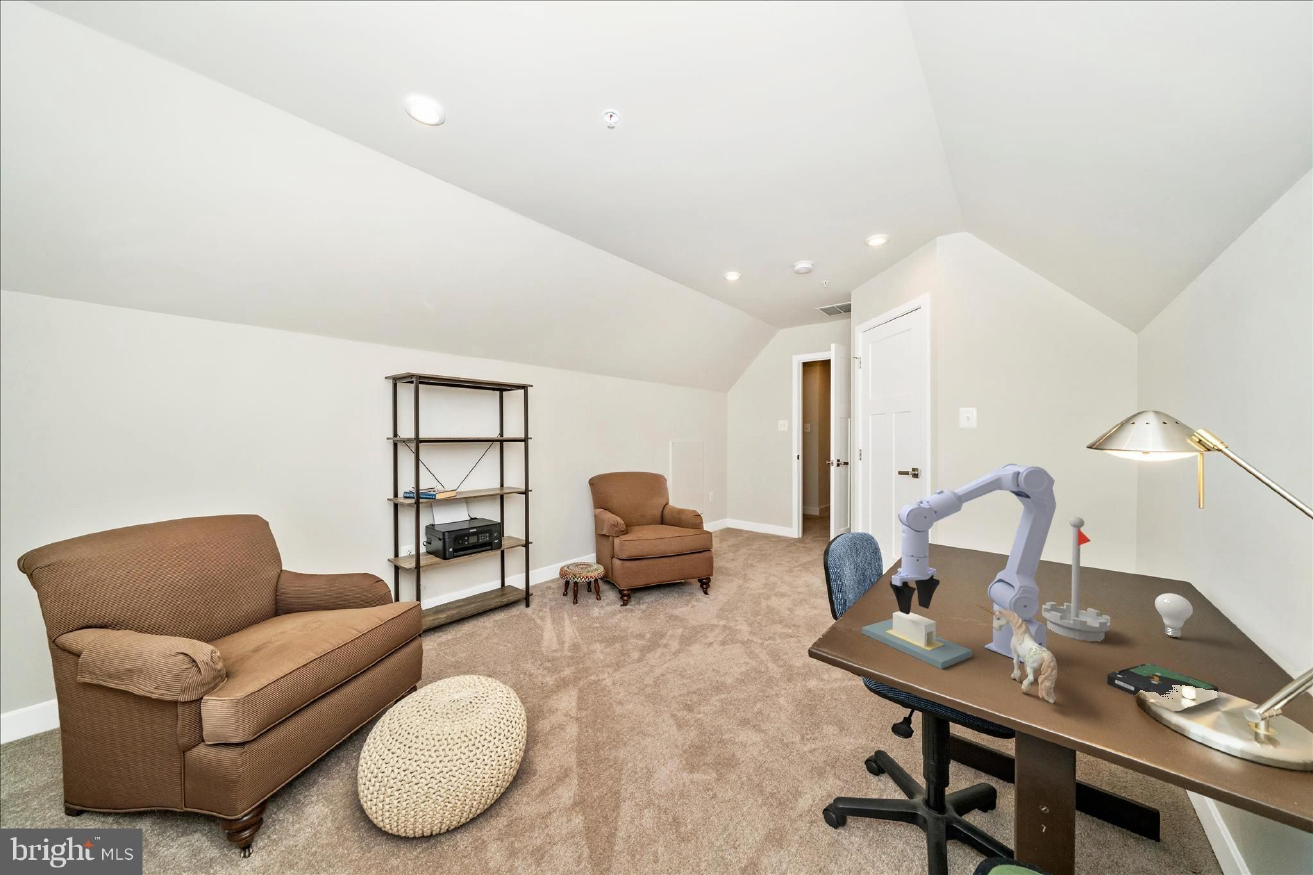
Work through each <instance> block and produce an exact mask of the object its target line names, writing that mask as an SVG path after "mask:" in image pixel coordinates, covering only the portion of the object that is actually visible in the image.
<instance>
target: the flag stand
mask: <svg viewBox="0 0 1313 875" xmlns="http://www.w3.org/2000/svg"><path fill="white" fill-rule="evenodd" d="M1068 523H1069V525H1070V526H1071V527H1072V542H1071V544H1072V549H1071V550H1072V551H1071V555H1072V556H1071V603H1067V602H1063V606H1058V604H1057V603H1056V602H1054V601H1049V602H1045V604H1042V608H1041V609H1042V610H1041V614H1042V615H1041V616H1042V617H1044V619H1046V628H1047V629H1049V630H1050V629H1051V630H1052V632H1053V631H1054V633H1056V634H1057V633H1058V635H1061V636H1063V637H1066V636H1067V637H1066V638H1070V639H1073V638H1075V639H1074V640H1078V641H1083V640H1090V641H1089V642H1093V641H1098V640H1103V639H1104V640H1105V632H1107V631H1110V630H1111V617H1110V616H1109V615H1106V614H1102V615H1101V611H1100V610H1096V609H1094V608H1092V607H1088V608H1087V609H1086V610H1082V609H1080V593H1081V592H1080V590H1081V588H1080V585H1081V582H1080V581H1081V578H1080V577H1081V546H1082V545H1084V544H1088V543H1090V542H1092V540H1091V539H1090V538H1089V537H1087V535H1086V534H1085V533H1084V532H1083V531H1082V529H1081V528H1083V527H1084V526H1085V520H1084V519H1083V518H1082V517H1079V516H1072V517H1070V519H1069V521H1068ZM1051 630H1050V631H1051ZM1104 640H1103V641H1104ZM1098 642H1099V641H1098Z"/></svg>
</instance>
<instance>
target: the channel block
mask: <svg viewBox="0 0 1313 875" xmlns="http://www.w3.org/2000/svg"><path fill="white" fill-rule="evenodd" d="M892 619H893V633H894V634H896V635H899V636H901V637H903V638H906V639H908V640H910V641H913V642H915V643H917V644H920V645H922V646H927V641H929V642H931V643H935V642H936V636H937V635H936V634H937V630H936V629H937V621H936V620H934V619H933V620H932V619H930V618H928V617H924V616H921V615H920V614H916V613H913V612H912V611H910V614H908V615H907V614H904V613H902V612H900V610H899V611H895V612H893V613H892Z"/></svg>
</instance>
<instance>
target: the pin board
mask: <svg viewBox="0 0 1313 875" xmlns="http://www.w3.org/2000/svg"><path fill="white" fill-rule="evenodd" d="M861 634H863V635H866V636H867V637H869V636H870V637H869V638H871V639H873V640H876V641H878V642H880V643H883V644H885V645H888V646H889V647H891V648H893V649H896V650H898V651H901V652H903V653H905V654H906V655H909V656H911V657H913V658H915V659H918V660H920V661H922V662H924V663H926V664H929V665H932V666H933V667H935V668H938V669H939V670H943V669H946V668H948V667H950V666H952V665H955V664H957V663H960V662H963V661H965V660H968V659H970V658H972V657H973V650H972V649H971V648H968V647H965V646H963V645H960V644H957V643H955V642H953V641H950V640H947V639H946V638H942V637H939V636H937V635H936V642H935V643H931V642H929V641H927V646H922V645H920V644H917V643H915V642H913V641H910V640H908V639H906V638H903V637H901V636H899V635H896V634H894V633H893V618H890V619H886V620H882V621H879V622H876V623H873V624H869V625H866V626H865V625H864V626H862V627H861Z"/></svg>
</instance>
